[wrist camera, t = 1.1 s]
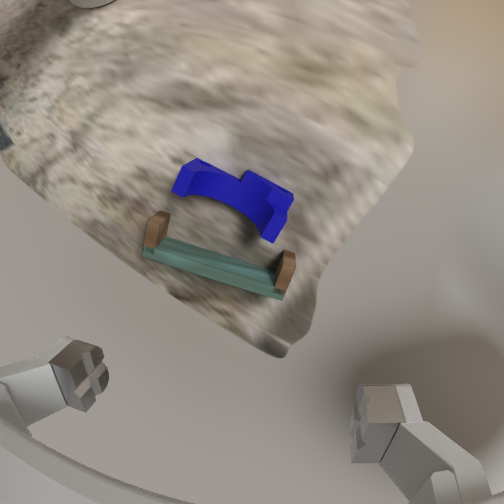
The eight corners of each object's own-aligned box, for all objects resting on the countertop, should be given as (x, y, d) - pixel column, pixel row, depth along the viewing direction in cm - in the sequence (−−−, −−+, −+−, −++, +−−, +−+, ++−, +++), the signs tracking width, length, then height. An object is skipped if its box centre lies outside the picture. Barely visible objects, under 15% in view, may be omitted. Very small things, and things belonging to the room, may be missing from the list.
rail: (159, 210, 39) (147, 220, 35) (295, 253, 40) (295, 267, 36) (153, 243, 41) (142, 255, 37) (282, 284, 42) (282, 300, 38)
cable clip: (293, 193, 37) (294, 207, 31) (274, 224, 39) (273, 243, 33) (202, 146, 35) (188, 152, 30) (187, 179, 37) (171, 191, 32)
